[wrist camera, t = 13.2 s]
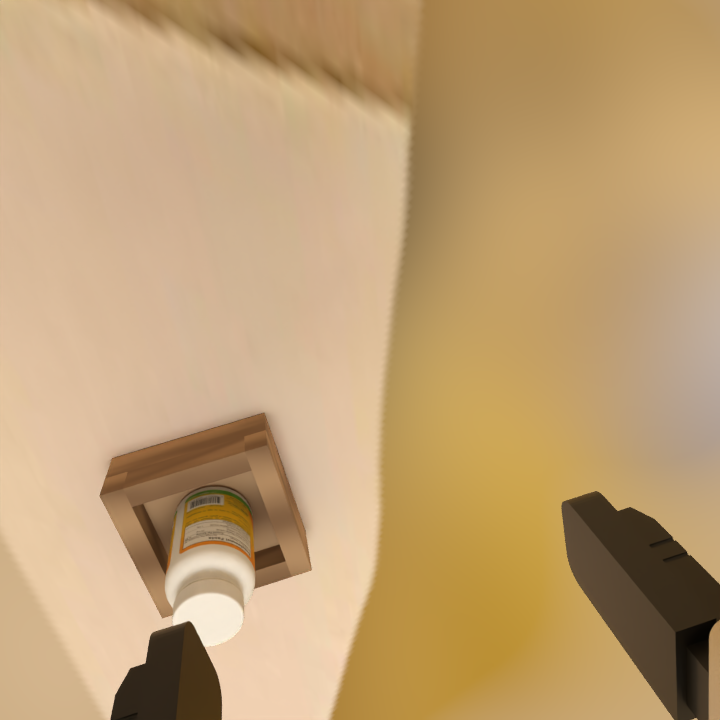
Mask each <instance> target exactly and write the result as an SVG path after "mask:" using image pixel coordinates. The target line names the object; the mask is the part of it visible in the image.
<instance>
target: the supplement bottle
mask: <svg viewBox="0 0 720 720" xmlns="http://www.w3.org/2000/svg"><path fill="white" fill-rule="evenodd" d="M254 587H255V558H254V535H253V517H252V511H251V508H250V506H249V504H248V502H247V501H246V500H245V498H244V497H243V496H241V495H240V494H239V493H237V492H236V491H234V490H231V489H229V488H225V487H205V488H201V489H198V490H196V491H194V492H192V493H190V494H189V495H188V496H186V497H185V498H184V499H183V500H182V501H181V503H180V504H179V506H178V507H177V510H176V512H175V516H174V521H173V528H172V536H171V543H170V550H169V556H168V563H167V570H166V577H165V594H166V597H167V600H168V602H169V604H170V605H171V607H172V608H173V616H172V625H173V626H174V625H178V624H181V623H184V622H187V621H190V622H191V623H192V624H193V625H194V627H195V629H196V631H197V633H198V635H199V637H200V639H201V641H202V643H203V645H204V647H207V646H215V645H219V644H221V643H224V642H226V641H228V640H229V639H231V638H232V637H233V636H235V635H236V634H237V633H238V631H239V630H240V628H241V626H242V624H243V621H244V606H245V605H246V604H247V603H248V601H249V600H250V598H251V596H252V594H253V591H254Z"/></svg>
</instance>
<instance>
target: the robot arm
mask: <svg viewBox="0 0 720 720" xmlns="http://www.w3.org/2000/svg"><path fill="white" fill-rule="evenodd" d="M562 517H563V525H564V533H565V541H566V550H567V557H568V561H569V565H570V567H571V570H572V572H573V575H574V577H575V579H576V581H577V582H578V584H579V586H580V587H581V588H582V590H583V591H584V593H585V594H586V595H587V597H588V598H589V600H590V601H591V603H592V604H593V605H594V607H595V608H596V610H597V611H598V613H599V614H600V615H601V617H602V618H603V620H604V621H605V622H606V624H607V625H608V627H609V628H610V630H611V631H612V632H613V634H614V635H615V637H616V638H617V639H618V641H619V642H620V643H621V645H622V647H623V648H624V649H625V651H626V652H627V653H628V655H629V656H630V658H631V659H632V661H633V662H634V664H635V665H636V666H637V668H638V669H639V671H640V672H641V673H642V675H643V676H644V678H645V679H646V681H647V682H648V683H649V685H650V686H651V688H652V689H653V690H654V692H655V693H656V695H657V696H658V697H659V699H660V700H661V702H662V703H663V704H664V706H665V707H666V709H667V710H668V712H669V713H670V714H671V716H672V717H673V719H674V720H692V719H694V718H697V719H698V720H720V584H719V583H718V582H717V581H716V580H715V579H714V578H713V577H712V576H711V575H710V574H709V573H708V572H707V571H706V570H705V569H704V568H703V567H702V566H701V565H700V564H699V563H698V562H697V561H696V560H695V559H694V558H693V557H692V556H691V555H690V556H689V555H688V554H687V551H686V550H685V549H684V548H683V547H682V546H681V545H680V544H679V543H678V542H677V541H674V540H673V538H672V536H671V535H670V534H669V533H668V532H667V531H666V530H665V529H664V528H663V527H662V526H661V525H660V524H659V523H658V522H657V521H656V520H655V519H653V518H651V517H649V516H647V515H645V514H643V513H641V512H639V511H637V510H635V509H633V508H631V507H629V508H626V509H623V510H620V511H617V510H616V509H615V508H614V507H613V506H612V505H611V504H610V503H609V502H608V501H607V499H606V498H605V497H604V496H603V495H602V494H601V493H599V492H597V491H595V492H592V493H589V494H585V495H582V496H579V497H577V498H573V499H570V500H567V501H564V502H563V503H562ZM111 720H222V696H221V689H220V683H219V679H218V676H217V673H216V670H215V668H214V666H213V664H212V662H211V660H210V658H209V656H208V654H207V652H206V650H205V647H204V645H203V643H202V641H201V639H200V637H199V635H198V633H197V631H196V629H195V627H194V625H193V624H192V623H191V622H190V621H187V622H184V623H181V624H178V625H174V626H171V627H168V628H165V629H162V630H159V631H156V632H153V633H152V634H151V636H150V640H149V646H148V652H147V658H146V663H145V664H142V665H139V666H136V667H133V668H130V670H129V672H128V674H127V675H126V677H125V679H124V681H123V682H122V684H121V686H120V688H119V689H118V691H117V693H116V695H115V700H114V705H113V710H112V715H111Z"/></svg>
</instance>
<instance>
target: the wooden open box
mask: <svg viewBox="0 0 720 720" xmlns="http://www.w3.org/2000/svg"><path fill="white" fill-rule="evenodd" d="M205 487H225V488H229V489H231V490H234V491H236V492H237V493H239V494H240V495H241V496H243V497H244V498H245V500H246V501H247V502H248V504H249V506H250V508H251V511H252V517H253V535H254V558H255V587H254V589H255V588H258V587H261V586H264V585H268V584H271V583H274V582H277V581H280V580H283V579H286V578H289V577H292V576H296V575H299V574H302V573H305V572H308V571H311V570H312V569H311V563H310V557H309V551H308V544H307V538H306V532H305V529H304V526H303V523H302V520H301V517H300V514H299V511H298V508H297V506H296V503H295V500H294V497H293V494H292V491H291V488H290V485H289V483H288V480H287V477H286V474H285V471H284V468H283V465H282V462H281V460H280V457H279V454H278V451H277V448H276V445H275V442H274V439H273V437H272V434H271V431H270V428H269V425H268V422H267V419H266V416H265V414H264V413H263V414H259V415H256V416H252V417H249V418H246V419H242V420H239V421H236V422H232V423H229V424H226V425H222V426H219V427H216V428H212V429H209V430H206V431H202V432H199V433H196V434H192V435H189V436H186V437H182V438H179V439H176V440H172V441H169V442H166V443H162V444H159V445H156V446H152V447H149V448H146V449H142V450H139V451H136V452H132V453H129V454H126V455H122V456H119V457H116V458H112V461H111V464H110V467H109V470H108V473H107V475H106V478H105V481H104V484H103V487H102V490H101V493H100V498H101V500H102V502H103V504H104V506H105V507H106V509H107V511H108V513H109V515H110V517H111V519H112V521H113V523H114V525H115V527H116V529H117V531H118V533H119V535H120V537H121V539H122V541H123V543H124V544H125V546H126V548H127V550H128V552H129V554H130V556H131V558H132V560H133V562H134V564H135V566H136V568H137V570H138V572H139V574H140V576H141V578H142V580H143V582H144V583H145V585H146V587H147V589H148V591H149V593H150V595H151V597H152V599H153V601H154V603H155V605H156V607H157V609H158V611H159V613H160V615H161V617H162V618H165V617H168V616H171V615H173V608H172V607H171V605H170V604H169V602H168V600H167V597H166V594H165V577H166V570H167V563H168V556H169V550H170V543H171V536H172V528H173V521H174V516H175V512H176V510H177V507H178V506H179V504H180V503H181V501H182V500H183V499H184V498H185V497H186V496H188V495H189V494H190V493H192V492H194V491H196V490H198V489H201V488H205Z"/></svg>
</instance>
